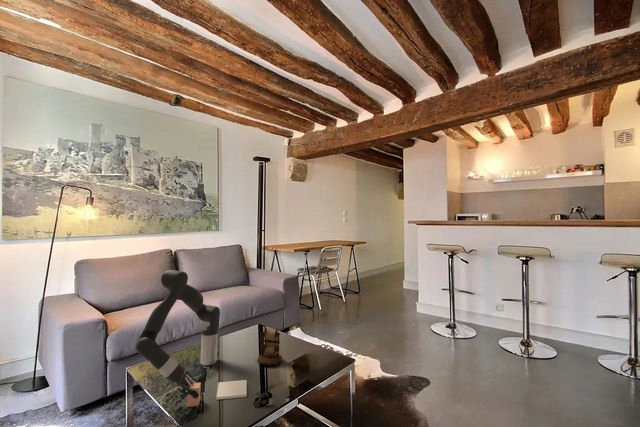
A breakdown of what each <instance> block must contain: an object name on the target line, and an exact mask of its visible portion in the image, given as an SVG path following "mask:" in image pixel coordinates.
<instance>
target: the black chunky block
mask: <svg viewBox="0 0 640 427" xmlns="http://www.w3.org/2000/svg"><path fill="white" fill-rule="evenodd" d="M269 399H270V396H269V394H268V392H264V393H259V396H258V400H257V401H254V402H252V403H253V406H254V408H255V410H257V409H261V408H262V409H263V408H265V407H264V406H266V405H267V404H269ZM266 407H267V406H266Z"/></svg>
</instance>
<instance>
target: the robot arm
mask: <svg viewBox="0 0 640 427" xmlns="http://www.w3.org/2000/svg"><path fill="white" fill-rule="evenodd" d="M160 281H161V284H162V286H163V287H164V288H165V289H166V290H168V291H170V292H169V294H168V295H167V296H166V297H165V298H164V299H163V300H162V301H161V302H160V303H159V304H158V305H157V306H156V307H155V308H154V309H153V310H152V312H151V314H150V315H149V317H148V320H147V322H146V324H145V326H144V328H143V330H142V332H141V334H140V336H139V338H138V339H137V342H136V344H135V347H134V348H135V351H136V352H137V353H138V354H140V355H141V356H142V357H143V358H145V359H146V360H147V361H148V362H149V363H150V364H151V366H153V367H154V368H155V369H156V370H157V371H158V372H159V373H160V374H161V375H162V377H164V378H165V379H167V380H168V381H169V382H170V383H171V384H175V383H176V384H177V385H178V386H177V390H178V391H179V392H181V393H182V394H184V396H187V395H188V394H190V395H191V396H192V397H193V398H195V399H196V398H197V397H198V396H199V394H198V393H197V392H196V391H195V390H193V388H192V387H191V384H190V383H196V379H195V378H194V377H193V375H192V374H191V373H190V372H189V370H186V368H185V367H184V366H183V365H182V364H180V363H179V362H178V361H177V360H176V359H175V358H174V357H172V356H171V355H170V354H169V353H167V351H166V350H164V349H163V348H161V346H159V344H158V343H157V342H156V338H157V337H158V334H160V332H161V330H162V328H163V326H164V324H165V322H166V320H167V318H168V315H169V314H170V312H171V310H172V309H173V307H174V305H175V303H176V302H177V300H178V299H179V300H180V301H182V302H183V304H184V305H186V306H187V307H188V308H189V309H190V310H191V311H192V312H194V313H195V314H196V316H197V317H198V319H199V320H200V321H202V322H205V323H209V325H208V326H204V327H202V329H201V339H200V340H201V342H200V343H201V344H200V361H199V362H200V365H202V366H211V365H214V364H216V363H217V358H218V336H219V334H218V332H219V326H220V318H221V317H220V316H221V310H220V307H218V306H216V305H215V306H213V305H206V304H204V296H203V295H202V294H203V293H201V292H200V291H199V290H198V289H197V288H195V287H193V286H192V285H189V284H188V281H189V275H188V273H187V272H185V271H182V270H175V269H169V270H166V271H164V272H163V273H162V275H161V278H160ZM189 388H190V389H189Z"/></svg>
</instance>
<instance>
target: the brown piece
mask: <svg viewBox="0 0 640 427" xmlns="http://www.w3.org/2000/svg"><path fill="white" fill-rule="evenodd" d="M280 336H281V333H280V332H278V329H277V328H276V329H275V331H268V329H267V328H265V329H264V331H262V332H261V339H260V340H261V341H260V342H261V348H260V350H261V352H260V355H258V356H257V362H258V365H259V364H261V365H263V366H275V365H274V364H276V363H278V362H280V361H281V359H282V360H283V356H282V355H281V354H280V353H279V352H280V342H281V340H280ZM281 362H282V361H281ZM281 362H280V363H281ZM278 364H279V363H278ZM276 365H277V364H276Z"/></svg>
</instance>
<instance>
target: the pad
mask: <svg viewBox="0 0 640 427" xmlns="http://www.w3.org/2000/svg"><path fill="white" fill-rule="evenodd" d="M247 389H248V388H247V379H242V380H232V381H219V382H218V384H217V389H216V390H217V391H216V397H215V398H216V399H215V400H216V401H217V400H227V399H235V398H237V399H238V398H247V395H248V394H247V393H248V392H247Z"/></svg>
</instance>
